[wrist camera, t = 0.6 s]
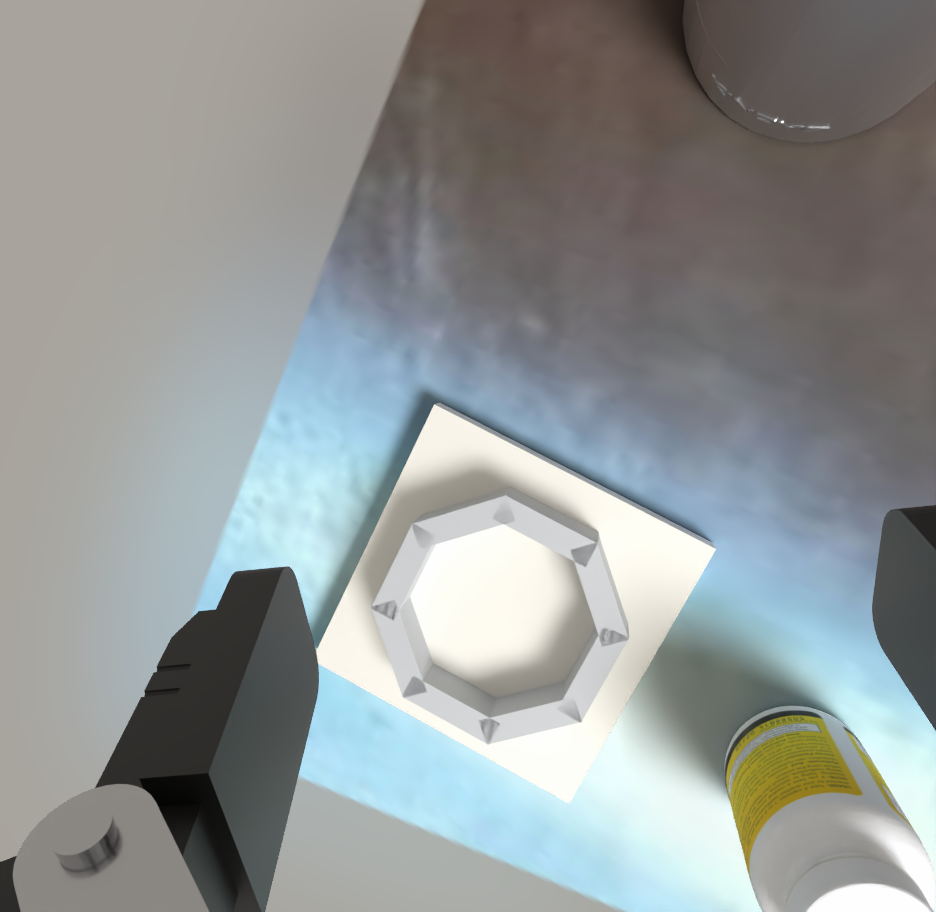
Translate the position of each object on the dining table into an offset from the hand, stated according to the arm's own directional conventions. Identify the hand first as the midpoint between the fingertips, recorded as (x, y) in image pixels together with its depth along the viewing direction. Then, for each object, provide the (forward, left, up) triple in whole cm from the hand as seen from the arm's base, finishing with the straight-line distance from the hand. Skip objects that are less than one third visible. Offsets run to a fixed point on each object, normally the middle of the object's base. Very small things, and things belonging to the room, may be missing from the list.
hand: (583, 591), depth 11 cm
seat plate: (+8, 0, -21) cm, 22 cm away
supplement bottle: (+8, +13, -21) cm, 26 cm away
